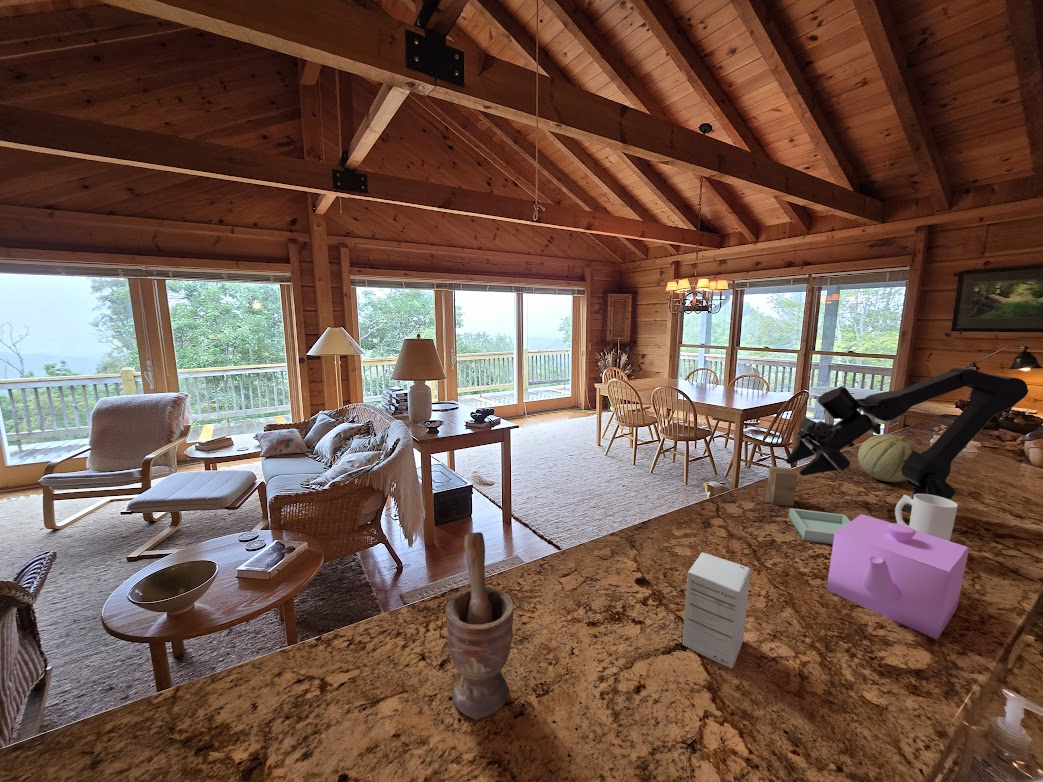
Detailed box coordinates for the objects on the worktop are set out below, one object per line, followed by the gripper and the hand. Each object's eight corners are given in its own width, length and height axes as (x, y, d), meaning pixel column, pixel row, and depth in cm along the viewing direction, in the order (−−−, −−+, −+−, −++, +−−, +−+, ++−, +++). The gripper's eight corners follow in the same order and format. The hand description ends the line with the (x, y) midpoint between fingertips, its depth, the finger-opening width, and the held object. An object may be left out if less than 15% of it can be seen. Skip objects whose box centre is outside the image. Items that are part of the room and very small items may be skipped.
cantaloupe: (854, 468, 144) (860, 425, 141) (912, 478, 135) (920, 432, 133) (856, 482, 132) (863, 435, 129) (920, 493, 123) (929, 443, 121)
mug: (955, 558, 90) (966, 505, 88) (934, 563, 88) (944, 509, 86) (901, 535, 100) (909, 486, 98) (881, 539, 98) (889, 489, 96)
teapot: (809, 604, 75) (819, 531, 73) (861, 559, 90) (871, 496, 87) (923, 660, 63) (940, 574, 61) (963, 598, 77) (978, 526, 75)
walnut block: (766, 496, 120) (769, 466, 119) (785, 498, 119) (789, 467, 118) (772, 504, 116) (776, 472, 114) (793, 506, 115) (797, 474, 113)
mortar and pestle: (430, 668, 61) (426, 539, 58) (484, 644, 66) (483, 523, 62) (464, 735, 51) (462, 584, 48) (525, 701, 56) (526, 562, 52)
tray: (788, 517, 108) (789, 508, 108) (843, 524, 105) (844, 514, 104) (803, 540, 97) (805, 530, 97) (865, 548, 94) (867, 538, 93)
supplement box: (695, 620, 71) (701, 550, 69) (744, 641, 67) (752, 567, 64) (680, 645, 66) (686, 570, 63) (732, 671, 61) (740, 591, 59)
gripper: (808, 401, 120) (761, 436, 124) (842, 416, 102) (785, 457, 106) (836, 431, 120) (787, 465, 124) (875, 451, 102) (817, 490, 106)
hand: (793, 468), depth 115 cm, fingers open, 9 cm apart
